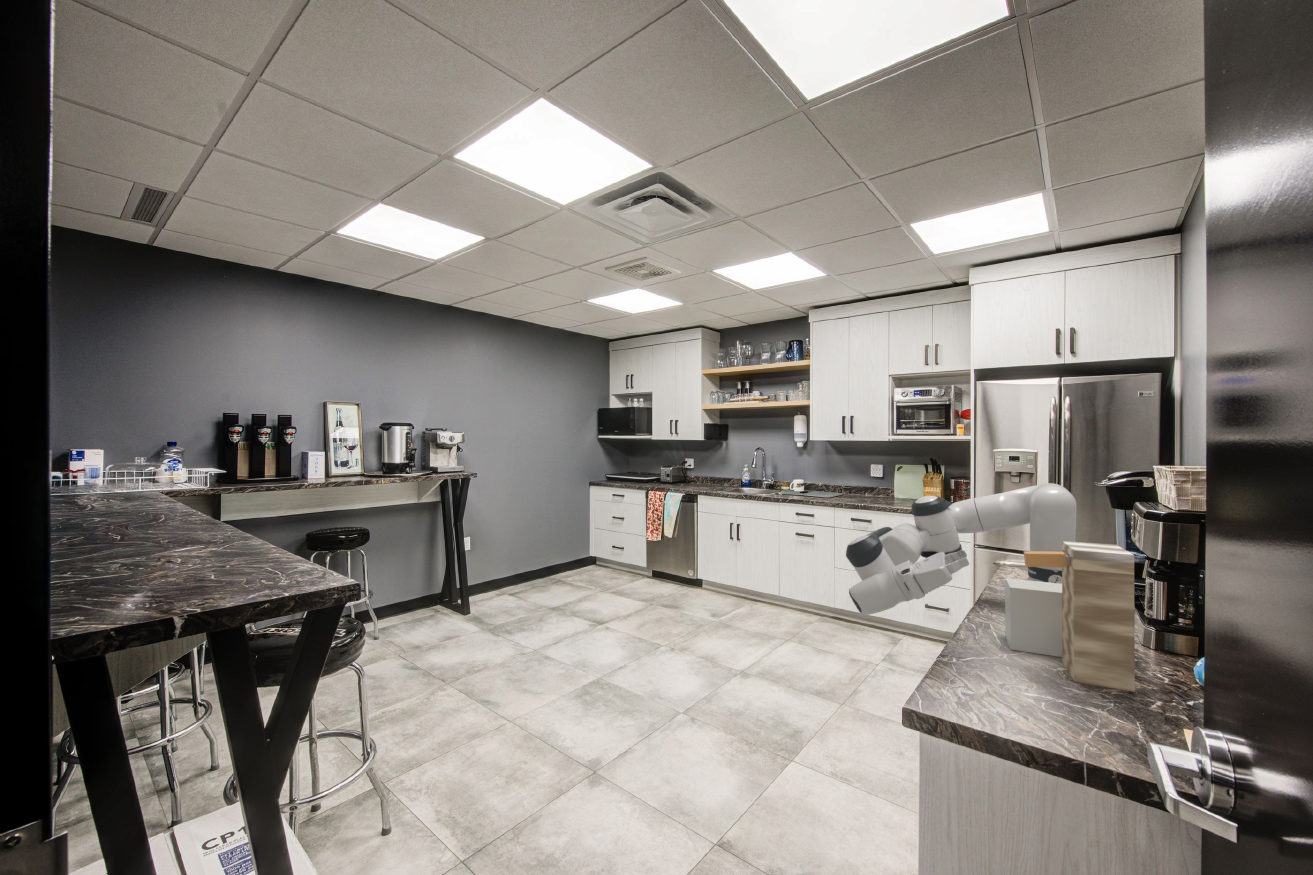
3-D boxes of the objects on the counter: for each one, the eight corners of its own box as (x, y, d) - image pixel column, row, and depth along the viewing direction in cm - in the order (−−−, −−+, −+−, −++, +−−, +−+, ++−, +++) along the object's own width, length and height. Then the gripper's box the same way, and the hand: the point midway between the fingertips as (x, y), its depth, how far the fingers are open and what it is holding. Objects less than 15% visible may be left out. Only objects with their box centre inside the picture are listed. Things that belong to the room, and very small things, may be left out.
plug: (1024, 564, 126) (1023, 551, 126) (1094, 565, 120) (1092, 552, 120) (1026, 566, 123) (1025, 553, 124) (1097, 568, 118) (1096, 554, 118)
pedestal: (1005, 636, 143) (1005, 578, 143) (1070, 645, 136) (1070, 584, 136) (1010, 649, 134) (1010, 587, 134) (1080, 659, 127) (1080, 594, 127)
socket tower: (1062, 661, 126) (1062, 541, 127) (1116, 669, 122) (1116, 544, 122) (1074, 682, 116) (1074, 550, 116) (1134, 692, 111) (1134, 554, 111)
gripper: (919, 581, 144) (971, 560, 138) (917, 601, 126) (977, 578, 120) (906, 559, 145) (957, 537, 140) (903, 576, 127) (961, 552, 122)
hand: (966, 556), depth 130 cm, fingers open, 8 cm apart
